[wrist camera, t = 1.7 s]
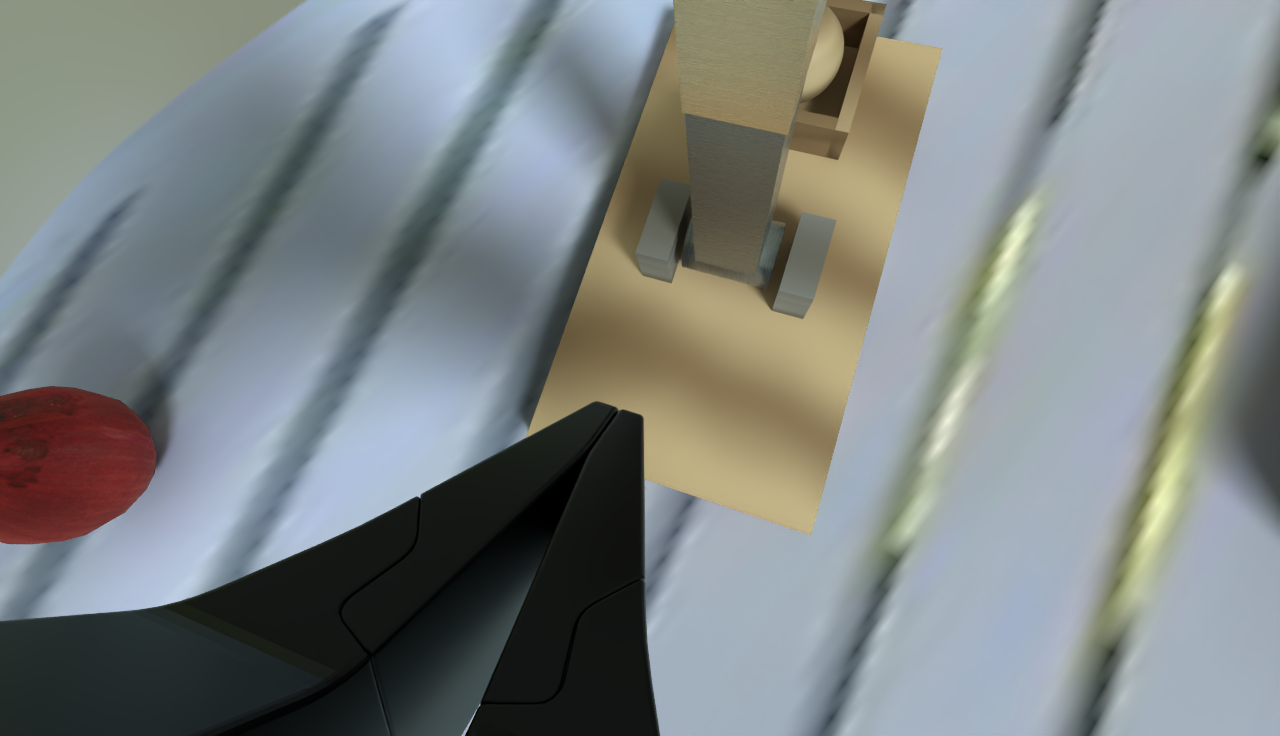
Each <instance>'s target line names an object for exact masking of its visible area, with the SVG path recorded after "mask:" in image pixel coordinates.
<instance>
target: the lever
mask: <svg viewBox="0 0 1280 736" xmlns="http://www.w3.org/2000/svg"><path fill="white" fill-rule="evenodd" d="M826 1H827V0H673V6H674V18H675V31H676V44H677V57H678V70H679V82H680V95H681V108H682V113H685V121H686V136H687V150H688V164H689V178H690V193H691V207H692V217H691V220H690V223H689V226H688V230H687V234H686V238H685V242H684V247H683V253H682V267H684V268H688V269H692V270H696V271H699V272H703V273H707V274H711V275H714V276H718V277H722V278H726V279H730V280H733V281H737V282H741V283H745V284H748V285H752V286H756V287H760V288H764V289H767V287H768V284H769V281H770V278H771V274H772V271H773V268H774V264H775V261H776V258H777V255H778V251H779V248H780V244H781V241H782V238H783V234H784V231H785V228H786V223H782V222H778V221H774V220H773V217H774V213H775V208H776V204H777V200H778V196H779V191H780V187H781V183H782V178H783V174H784V170H785V165H786V161H787V157H788V153H789V148H790V144H791V140H792V135H793V131H794V127H795V123H796V118H797V114H798V110H799V105H800V101H801V97H802V92H803V88H804V84H805V80H806V75H807V72H808V69H809V65H810V62H811V59H812V56H813V52H814V49H815V46H816V43H817V39H818V35H819V31H820V27H821V22H822V18H823V14H824V10H825V6H826Z"/></svg>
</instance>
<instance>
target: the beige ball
mask: <svg viewBox="0 0 1280 736" xmlns="http://www.w3.org/2000/svg"><path fill="white" fill-rule="evenodd" d="M843 52H844V36H843V31H842V27H841V25H840V22H839V20H838V18H837V16H836V15H835V14H834V13H833V11H832V10H831V9H830V8H829V7H828V6H825V10H824V14H823V18H822V22H821V27H820V31H819V35H818V39H817V43H816V46H815V49H814V52H813V56H812V59H811V62H810V65H809V69H808V72H807V75H806V80H805V84H804V88H803V92H802V97H801V101H800V103H804V102H807V101H809V100H811V99H813V98H815V97H816V96H818V95H819V94H820V93H822V92H823V91H824V90H825V89H826V88H827V87H828V86H829V84H830V83H831V82H832V80H833V79H834V77H835V76H836V74H837V72H838V70H839V67H840V65H841V62H842V58H843Z"/></svg>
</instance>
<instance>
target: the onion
mask: <svg viewBox="0 0 1280 736" xmlns="http://www.w3.org/2000/svg"><path fill="white" fill-rule="evenodd" d="M156 458H157V454H156V450H155V447H154V443H153V439H152V436H151V433H150V430H149V427H148V426H147V425H146V424H145V423H144V422H143V421H142V420H141V419H140V418H139V416H138V415H137V414H136V413H135V412H134V411H132V410H131V409H130V408H129V407H127V406H126V405H125V404H124V403H122V402H121V401H120V400H116V399H113V398H110V397H106V396H103V395H100V394H96V393H92V392H89V391H85V390H81V389H77V388H69V387H55V386H49V387H42V388H35V389H28V390H24V391H20V392H16V393H12V394H7V395H3V396H0V542H2V543H7V544H39V543H48V542H58V541H65V540H69V539H72V538H76V537H79V536H83V535H86V534H88V533H90V532H92V531H93V530H95V529H97V528H99V527H100V526H102V525H104V524H105V523H107V522H109V521H111V520H112V519H114V518H116V517H118V516H119V515H121V514H123V513H125V512H126V511H127V510H128V508H129V507H130V506H131V505H132V504H133V503H134V502H135V501H136V500H137V499H138V498H139V497H140V496H141V495H142V494H143V493H144V492H145V490H146V489H147V487H148V485H149V483H150V481H151V479H152V477H153V475H154V472H155V465H156Z"/></svg>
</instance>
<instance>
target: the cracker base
mask: <svg viewBox="0 0 1280 736" xmlns="http://www.w3.org/2000/svg"><path fill="white" fill-rule="evenodd" d="M826 6H828V7H829V8H830V9H831V10H832V11H833V13H834V14H835V15H836V16H837V18H838V20H839V22H840V25H841V27H842V31H843V36H844V52H843V58H842V62H841V65H840V67H839V70H838V72H837V74H836V76H835V77H834V79H833V80H832V82H831V83H830V84H829V86H828V87H827V88H826V89H825V90H824V91H823V92H822V93H820V94H819V95H818V96H816V97H815V98H813V99H811V100H809V101H807V102H804V103H800V105H799V110H798V114H797V118H796V123H795V127H794V131H793V135H792V140H791V144H790V148H789V153H788V157H787V161H786V165H785V170H784V174H783V178H782V183H781V187H780V191H779V196H778V200H777V204H776V208H775V213H774V217H773V220H774V221H778V222H782V223H786V228H785V231H784V234H783V238H782V241H781V244H780V248H779V251H778V255H777V258H776V261H775V264H774V268H773V271H772V274H771V278H770V281H769V284H768V287H767V289H764V288H760V287H756V286H752V285H748V284H745V283H741V282H737V281H733V280H730V279H726V278H722V277H718V276H714V275H711V274H707V273H703V272H699V271H696V270H692V269H688V268H684V267H682V253H683V247H684V242H685V238H686V234H687V230H688V226H689V223H690V220H691V217H692V207H691V193H690V178H689V164H688V150H687V136H686V121H685V113H682V108H681V95H680V82H679V70H678V57H677V44H676V31H675V23H674V26H673V28H672V31H671V34H670V37H669V40H668V42H667V45H666V48H665V51H664V53H663V56H662V59H661V62H660V65H659V67H658V70H657V73H656V76H655V79H654V81H653V84H652V87H651V90H650V93H649V95H648V98H647V101H646V104H645V107H644V109H643V112H642V115H641V118H640V120H639V123H638V126H637V129H636V132H635V134H634V137H633V140H632V143H631V146H630V148H629V151H628V154H627V157H626V160H625V162H624V165H623V168H622V171H621V173H620V176H619V179H618V182H617V185H616V187H615V190H614V193H613V196H612V199H611V201H610V204H609V207H608V210H607V213H606V215H605V218H604V221H603V224H602V226H601V229H600V232H599V235H598V238H597V240H596V243H595V246H594V249H593V252H592V254H591V257H590V260H589V263H588V266H587V268H586V271H585V274H584V277H583V280H582V282H581V285H580V288H579V291H578V293H577V296H576V299H575V302H574V305H573V307H572V310H571V313H570V316H569V319H568V321H567V324H566V327H565V330H564V333H563V335H562V338H561V341H560V344H559V346H558V349H557V352H556V355H555V358H554V360H553V363H552V366H551V369H550V372H549V374H548V377H547V380H546V383H545V386H544V388H543V391H542V394H541V397H540V399H539V402H538V405H537V408H536V411H535V413H534V416H533V419H532V422H531V425H530V427H529V430H528V433H527V436H526V438H527V437H528V436H530V435H532V434H534V433H536V432H538V431H540V430H541V429H543V428H545V427H547V426H549V425H551V424H553V423H555V422H556V421H558V420H560V419H562V418H564V417H566V416H568V415H569V414H571V413H573V412H575V411H577V410H579V409H581V408H582V407H584V406H586V405H588V404H590V403H592V402H595V401H599V402H603V403H606V404H609V405H612V406H615V407H617V408H618V410H622V409H625V410H628V411H631V412H634V413H637V414H640V415H642V416H643V418H644V479H646V480H649V481H652V482H654V483H657V484H660V485H663V486H666V487H669V488H672V489H675V490H678V491H681V492H684V493H687V494H690V495H693V496H696V497H699V498H702V499H705V500H708V501H711V502H714V503H717V504H720V505H723V506H726V507H728V508H731V509H734V510H737V511H740V512H743V513H746V514H749V515H752V516H755V517H758V518H761V519H764V520H767V521H770V522H773V523H776V524H779V525H782V526H785V527H788V528H791V529H794V530H797V531H800V532H803V533H805V534H808V535H811V533H812V530H813V526H814V522H815V519H816V515H817V511H818V507H819V504H820V500H821V496H822V493H823V489H824V485H825V481H826V478H827V474H828V470H829V467H830V463H831V459H832V456H833V452H834V448H835V444H836V441H837V437H838V433H839V430H840V426H841V422H842V419H843V415H844V411H845V407H846V404H847V400H848V396H849V393H850V389H851V385H852V381H853V378H854V374H855V370H856V367H857V363H858V359H859V356H860V352H861V348H862V344H863V341H864V337H865V333H866V330H867V326H868V322H869V318H870V315H871V311H872V307H873V304H874V300H875V296H876V293H877V289H878V285H879V281H880V278H881V274H882V270H883V267H884V263H885V259H886V256H887V252H888V248H889V244H890V241H891V237H892V233H893V230H894V226H895V222H896V218H897V215H898V211H899V207H900V204H901V200H902V196H903V193H904V189H905V185H906V181H907V178H908V174H909V170H910V167H911V163H912V159H913V155H914V152H915V148H916V144H917V141H918V137H919V133H920V130H921V126H922V122H923V118H924V115H925V111H926V107H927V104H928V100H929V96H930V92H931V89H932V85H933V81H934V78H935V74H936V70H937V67H938V63H939V59H940V55H941V52H942V48H938V47H932V46H927V45H921V44H916V43H910V42H904V41H899V40H893V39H888V38H882V37H877V35H878V32H879V28H880V25H881V21H882V18H883V14H884V11H885V8H886V4H881V3H876V2H870V1H864V0H827V1H826Z"/></svg>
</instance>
